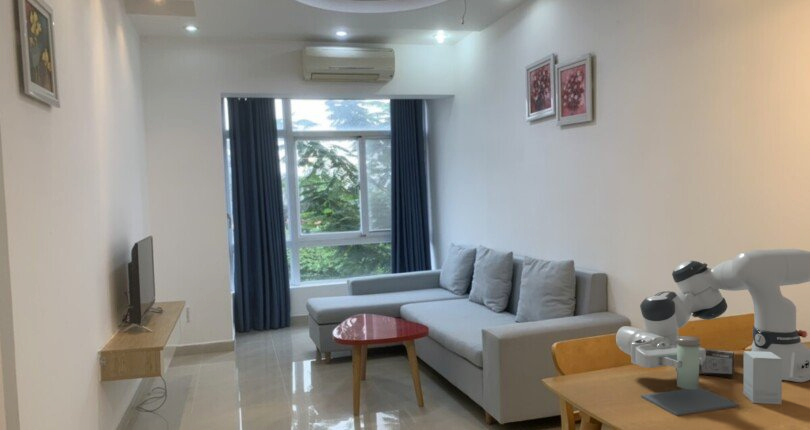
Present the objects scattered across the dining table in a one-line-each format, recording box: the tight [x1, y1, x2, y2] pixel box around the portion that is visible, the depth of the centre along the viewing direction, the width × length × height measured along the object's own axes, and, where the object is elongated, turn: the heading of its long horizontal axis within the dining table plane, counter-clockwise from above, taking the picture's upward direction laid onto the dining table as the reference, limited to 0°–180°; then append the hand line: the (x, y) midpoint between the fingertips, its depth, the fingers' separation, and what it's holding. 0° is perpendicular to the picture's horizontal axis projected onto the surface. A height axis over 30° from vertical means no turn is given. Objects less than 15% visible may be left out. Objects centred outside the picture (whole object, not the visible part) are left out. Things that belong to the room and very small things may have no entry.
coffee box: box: [675, 348, 735, 379], centre depth 188 cm, size 9×6×16 cm
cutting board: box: [640, 386, 740, 416], centre depth 163 cm, size 20×14×1 cm
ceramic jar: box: [676, 335, 701, 389], centre depth 162 cm, size 6×6×13 cm
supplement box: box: [743, 350, 783, 405], centre depth 163 cm, size 7×7×13 cm
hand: (690, 363), depth 161 cm, fingers closed on ceramic jar, 5 cm apart
